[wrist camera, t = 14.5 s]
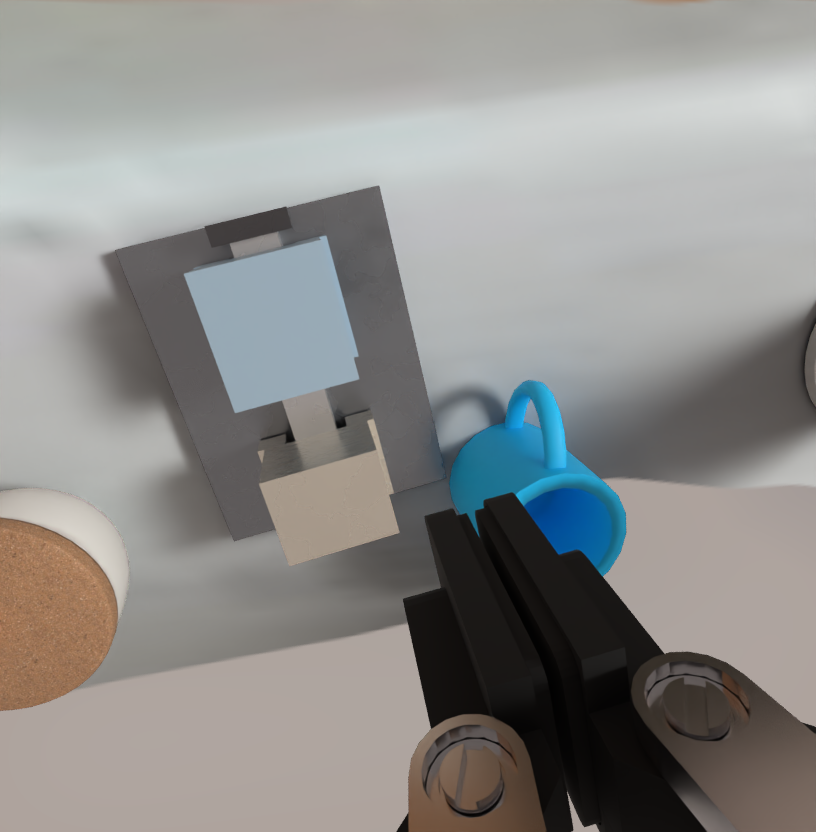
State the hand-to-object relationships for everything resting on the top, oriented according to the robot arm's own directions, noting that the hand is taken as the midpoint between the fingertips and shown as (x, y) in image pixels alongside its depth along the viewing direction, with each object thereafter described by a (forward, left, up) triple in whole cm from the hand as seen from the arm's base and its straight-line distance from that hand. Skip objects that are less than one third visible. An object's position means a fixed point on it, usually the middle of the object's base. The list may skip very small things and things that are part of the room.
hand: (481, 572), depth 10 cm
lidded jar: (+21, +8, -25) cm, 33 cm away
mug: (-8, +11, -25) cm, 28 cm away
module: (+4, -3, -23) cm, 24 cm away
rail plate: (+4, +2, -24) cm, 25 cm away
